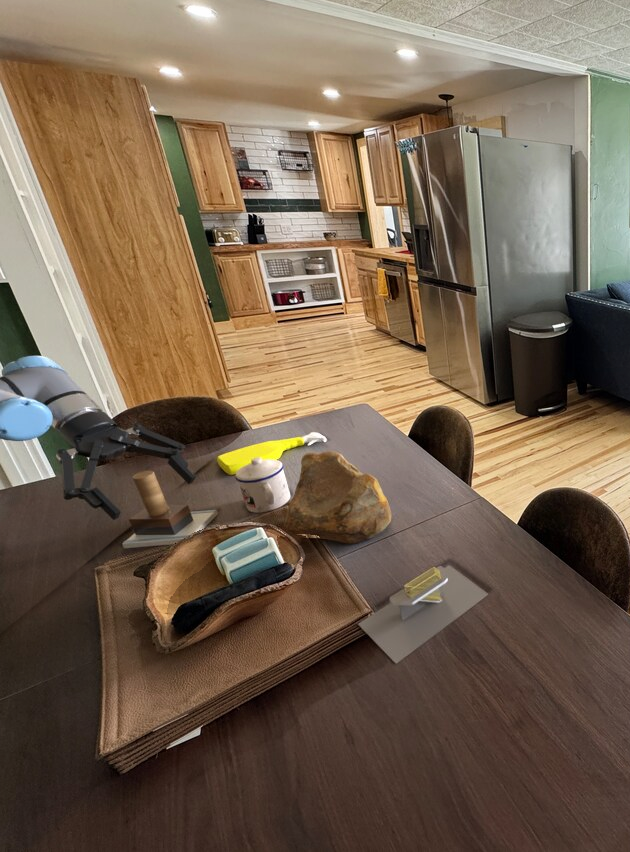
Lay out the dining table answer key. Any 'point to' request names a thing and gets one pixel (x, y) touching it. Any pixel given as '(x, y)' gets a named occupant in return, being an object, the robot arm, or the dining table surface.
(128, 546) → the tile
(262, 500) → the teacup with lid
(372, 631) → the plastering trowel
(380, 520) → the rough brown rock
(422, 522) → the dining table surface
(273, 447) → the spray bottle
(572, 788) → the dining table surface
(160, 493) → the rubber stamp
